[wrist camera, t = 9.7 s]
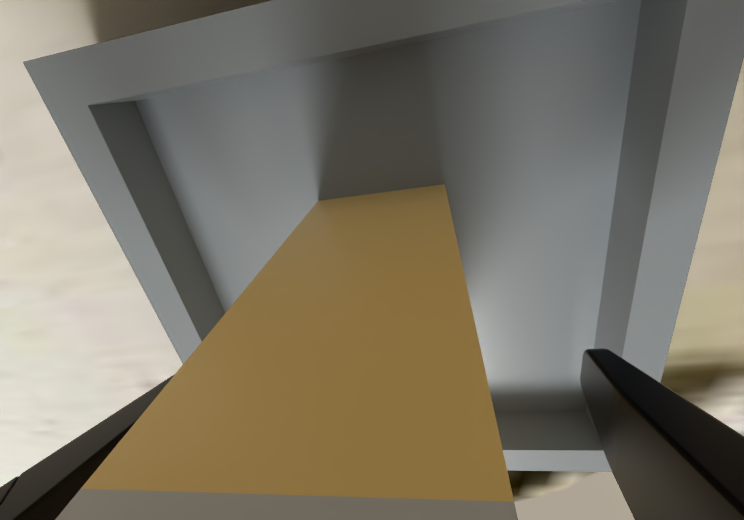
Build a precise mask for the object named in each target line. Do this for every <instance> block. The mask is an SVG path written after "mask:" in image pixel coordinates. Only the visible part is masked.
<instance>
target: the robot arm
mask: <svg viewBox="0 0 744 520" xmlns="http://www.w3.org/2000/svg"><path fill="white" fill-rule="evenodd" d="M174 375H175V374H174ZM174 375H173V376H174ZM173 376H171V377H170V378H168V379H167V380H165V381H164V382H162V383H161V384H159V385H158V386H156V387H154V388H153V389H151V390H150V391H148V392H147V393H145V394H144V395H142V396H141V397H139V398H137V399H136V400H134V401H133V402H131V403H130V404H128V405H127V406H125V407H124V408H122V409H121V410H119V411H117V412H116V413H114V414H113V415H111V416H110V417H108V418H107V419H105V420H104V421H102V422H100V423H99V424H97V425H96V426H94V427H93V428H91V429H90V430H88V431H87V432H85V433H83V434H82V435H80V436H79V437H77V438H76V439H74V440H73V441H71V442H70V443H68V444H67V445H65V446H63V447H62V448H60V449H59V450H57V451H56V452H54V453H53V454H51V455H50V456H48V457H46V458H45V459H43V460H42V461H40V462H39V463H37V464H36V465H34V466H33V467H31V468H30V469H28V470H26V471H25V472H23V473H22V474H21V475H20V477H15V478H14V479H12V480H11V481H9V482H8V483H6V484H5V485H3V486H2V487H0V520H55V519H56V518H57V517H58V516H59V514H60V513H61V512H62V511H63V510H64V508H65V507H66V506H67V505H68V504H69V502H70V501H71V500H72V499H73V497H74V496H75V495H76V494H77V493H78V491H79V490H80V489H81V488H82V487H83V485H84V484H85V483H86V482H87V480H88V479H89V478H90V477H91V476H92V474H93V473H94V472H95V471H96V470H97V468H98V467H99V466H100V465H101V464H102V462H103V461H104V460H105V459H106V457H107V456H108V455H109V454H110V453H111V451H112V450H113V449H114V448H115V447H116V445H117V444H118V443H119V442H120V440H121V439H122V438H123V437H124V436H125V434H126V433H127V432H128V431H129V430H130V428H131V427H132V426H133V425H134V424H135V422H136V421H137V420H138V419H139V417H140V416H141V415H142V414H143V413H144V411H145V410H146V409H147V408H148V407H149V405H150V404H151V403H152V402H153V400H154V399H155V398H156V397H157V396H158V394H159V393H160V392H161V391H162V390H163V388H164V387H165V386H166V385H167V383H168V382H169V381H170V380H171V379H172V377H173ZM580 383H581V388H582V391H583V394H584V397H585V400H586V402H587V405H588V408H589V411H590V414H591V417H592V420H593V422H594V425H595V428H596V431H597V434H598V437H599V439H600V442H601V445H602V448H603V451H604V453H605V456H606V459H607V461H608V463H609V466H610V468H611V470H612V472H613V475H614V477H615V479H616V481H617V483H618V485H619V487H620V489H621V491H622V493H623V496H624V498H625V500H626V502H627V504H628V506H629V508H630V510H631V512H632V514H633V517H634V519H635V520H744V436H742V435H741V434H739V433H738V432H736V431H735V430H733V429H732V428H730V427H728V426H727V425H725V424H724V423H722V422H721V421H719V420H718V419H716V418H714V417H713V416H711V415H710V414H708V413H707V412H705V411H704V410H702V409H700V408H699V407H697V406H696V405H694V404H693V403H691V402H690V401H688V400H686V399H685V398H683V397H682V396H680V395H679V394H677V393H676V392H674V391H672V390H671V389H669V388H668V387H666V386H665V385H663V384H662V383H660V382H658V381H657V380H655V379H654V378H652V377H651V376H649V375H648V374H646V373H644V372H643V371H641V370H640V369H638V368H637V367H635V366H634V365H632V364H630V363H629V362H627V361H626V360H624V359H623V358H621V357H620V356H618V355H616V354H615V353H613V352H612V351H610V350H608V349H605V348H597V349H586V350H585V351H584V353H583V357H582V366H581V374H580Z"/></svg>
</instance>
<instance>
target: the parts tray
mask: <svg viewBox="0 0 744 520" xmlns="http://www.w3.org/2000/svg"><path fill="white" fill-rule="evenodd" d="M743 58H744V0H271V1H267V2H263V3H259V4H254V5H250V6H246V7H242V8H238V9H234V10H230V11H226V12H222V13H218V14H214V15H210V16H206V17H202V18H198V19H194V20H190V21H186V22H182V23H178V24H174V25H170V26H166V27H162V28H158V29H154V30H150V31H146V32H142V33H138V34H134V35H130V36H126V37H122V38H118V39H113V40H109V41H105V42H101V43H97V44H93V45H89V46H85V47H81V48H77V49H73V50H69V51H65V52H61V53H57V54H53V55H49V56H45V57H41V58H37V59H33V60H29V61H25V62H23V63H24V65H25V67H26V69H27V71H28V73H29V75H30V76H31V78H32V80H33V82H34V84H35V86H36V88H37V90H38V92H39V93H40V95H41V97H42V99H43V101H44V103H45V105H46V107H47V109H48V110H49V112H50V114H51V116H52V118H53V120H54V122H55V124H56V126H57V127H58V129H59V131H60V133H61V135H62V137H63V139H64V141H65V142H66V144H67V146H68V148H69V150H70V152H71V154H72V156H73V158H74V159H75V161H76V163H77V165H78V167H79V169H80V171H81V173H82V175H83V176H84V178H85V180H86V182H87V184H88V186H89V188H90V190H91V192H92V193H93V195H94V197H95V199H96V201H97V203H98V205H99V207H100V209H101V210H102V212H103V214H104V216H105V218H106V220H107V222H108V224H109V226H110V227H111V229H112V231H113V233H114V235H115V237H116V239H117V241H118V242H119V244H120V246H121V248H122V250H123V252H124V254H125V256H126V258H127V259H128V261H129V263H130V265H131V267H132V269H133V271H134V273H135V275H136V276H137V278H138V280H139V282H140V284H141V286H142V288H143V290H144V292H145V293H146V295H147V297H148V299H149V301H150V303H151V305H152V307H153V309H154V310H155V312H156V314H157V316H158V318H159V320H160V322H161V324H162V326H163V327H164V329H165V331H166V333H167V335H168V337H169V339H170V341H171V342H172V344H173V346H174V348H175V350H176V352H177V354H178V356H179V358H180V359H181V361H182V363H183V364H184V363H185V362H186V360H187V359H188V358H189V357H190V356H191V354H192V353H193V352H194V351H195V350H196V348H197V347H198V346H199V345H200V343H201V342H202V341H203V340H204V339H205V337H206V336H207V335H208V334H209V333H210V331H211V330H212V329H213V328H214V327H215V325H216V324H217V323H218V322H219V320H220V319H221V318H222V317H223V316H224V314H225V313H226V312H227V311H228V310H229V308H230V307H231V306H232V305H233V303H234V302H235V301H236V300H237V299H238V297H239V296H240V295H241V294H242V293H243V291H244V290H245V289H246V288H247V287H248V285H249V284H250V283H251V282H252V280H253V279H254V278H255V277H256V276H257V274H258V273H259V272H260V271H261V270H262V268H263V267H264V266H265V265H266V263H267V262H268V261H269V260H270V259H271V257H272V256H273V255H274V254H275V253H276V251H277V250H278V249H279V248H280V246H281V245H282V244H283V243H284V242H285V240H286V239H287V238H288V237H289V236H290V234H291V233H292V232H293V231H294V230H295V228H296V227H297V226H298V225H299V223H300V222H301V221H302V220H303V219H304V217H305V216H306V215H307V214H308V213H309V211H310V210H311V209H312V208H313V206H314V205H315V204H316V203H317V202H318V201H321V200H329V199H336V198H344V197H351V196H359V195H366V194H374V193H382V192H389V191H397V190H404V189H412V188H419V187H427V186H435V185H442V184H445V188H446V192H447V197H448V202H449V206H450V211H451V215H452V220H453V224H454V229H455V234H456V238H457V243H458V247H459V252H460V257H461V261H462V266H463V270H464V275H465V280H466V284H467V289H468V293H469V298H470V302H471V307H472V312H473V316H474V321H475V325H476V330H477V335H478V339H479V344H480V348H481V353H482V358H483V362H484V367H485V371H486V376H487V380H488V385H489V390H490V394H491V399H492V403H493V408H494V413H495V417H496V422H497V426H498V431H499V436H500V440H501V445H502V449H503V454H504V458H505V463H506V468H507V470H522V471H589V472H612V470H611V468H610V466H609V463H608V461H607V459H606V456H605V453H604V451H603V448H602V445H601V442H600V439H599V437H598V434H597V431H596V428H595V425H594V422H593V420H592V417H591V414H590V411H589V408H588V405H587V402H586V400H585V397H584V394H583V391H582V388H581V383H580V374H581V366H582V357H583V353H584V351H585V350H586V349H597V348H605V349H608V350H610V351H612V352H613V353H615V354H616V355H618V356H620V357H621V358H623V359H624V360H626V361H627V362H629V363H630V364H632V365H634V366H635V367H637V368H638V369H640V370H641V371H643V372H644V373H646V374H648V375H649V376H651V377H652V378H654V379H655V380H657V381H658V382H661V378H662V374H663V370H664V366H665V362H666V358H667V354H668V351H669V347H670V343H671V339H672V335H673V331H674V327H675V323H676V319H677V315H678V311H679V308H680V304H681V300H682V296H683V292H684V288H685V284H686V280H687V276H688V272H689V269H690V265H691V261H692V257H693V253H694V249H695V245H696V241H697V237H698V233H699V229H700V226H701V222H702V218H703V214H704V210H705V206H706V202H707V198H708V194H709V190H710V187H711V183H712V179H713V175H714V171H715V167H716V163H717V159H718V155H719V151H720V147H721V144H722V140H723V136H724V132H725V128H726V124H727V120H728V116H729V112H730V108H731V105H732V101H733V97H734V93H735V89H736V85H737V81H738V77H739V73H740V69H741V65H742V62H743Z"/></svg>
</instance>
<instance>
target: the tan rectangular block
mask: <svg viewBox="0 0 744 520" xmlns="http://www.w3.org/2000/svg"><path fill="white" fill-rule="evenodd" d="M55 520H518V518H517V514H516V509H515V504H514V500H513V495H512V491H511V486H510V481H509V477H508V472H507V468H506V463H505V458H504V454H503V449H502V445H501V440H500V436H499V431H498V426H497V422H496V417H495V413H494V408H493V403H492V399H491V394H490V390H489V385H488V380H487V376H486V371H485V367H484V362H483V358H482V353H481V348H480V344H479V339H478V335H477V330H476V325H475V321H474V316H473V312H472V307H471V302H470V298H469V293H468V289H467V284H466V280H465V275H464V270H463V266H462V261H461V257H460V252H459V247H458V243H457V238H456V234H455V229H454V224H453V220H452V215H451V211H450V206H449V202H448V197H447V192H446V188H445V184H442V185H435V186H427V187H419V188H412V189H404V190H397V191H389V192H382V193H374V194H366V195H359V196H351V197H344V198H336V199H329V200H321V201H318V202H317V203H316V204H315V205H314V206H313V208H312V209H311V210H310V211H309V213H308V214H307V215H306V216H305V217H304V219H303V220H302V221H301V222H300V223H299V225H298V226H297V227H296V228H295V230H294V231H293V232H292V233H291V234H290V236H289V237H288V238H287V239H286V240H285V242H284V243H283V244H282V245H281V246H280V248H279V249H278V250H277V251H276V253H275V254H274V255H273V256H272V257H271V259H270V260H269V261H268V262H267V263H266V265H265V266H264V267H263V268H262V270H261V271H260V272H259V273H258V274H257V276H256V277H255V278H254V279H253V280H252V282H251V283H250V284H249V285H248V287H247V288H246V289H245V290H244V291H243V293H242V294H241V295H240V296H239V297H238V299H237V300H236V301H235V302H234V303H233V305H232V306H231V307H230V308H229V310H228V311H227V312H226V313H225V314H224V316H223V317H222V318H221V319H220V320H219V322H218V323H217V324H216V325H215V327H214V328H213V329H212V330H211V331H210V333H209V334H208V335H207V336H206V337H205V339H204V340H203V341H202V342H201V343H200V345H199V346H198V347H197V348H196V350H195V351H194V352H193V353H192V354H191V356H190V357H189V358H188V359H187V360H186V362H185V363H184V364H183V365H182V367H181V368H180V369H179V370H178V371H177V373H176V374H175V375H174V376H173V377H172V379H171V380H170V381H169V382H168V383H167V385H166V386H165V387H164V388H163V390H162V391H161V392H160V393H159V394H158V396H157V397H156V398H155V399H154V400H153V402H152V403H151V404H150V405H149V407H148V408H147V409H146V410H145V411H144V413H143V414H142V415H141V416H140V417H139V419H138V420H137V421H136V422H135V424H134V425H133V426H132V427H131V428H130V430H129V431H128V432H127V433H126V434H125V436H124V437H123V438H122V439H121V440H120V442H119V443H118V444H117V445H116V447H115V448H114V449H113V450H112V451H111V453H110V454H109V455H108V456H107V457H106V459H105V460H104V461H103V462H102V464H101V465H100V466H99V467H98V468H97V470H96V471H95V472H94V473H93V474H92V476H91V477H90V478H89V479H88V480H87V482H86V483H85V484H84V485H83V487H82V488H81V489H80V490H79V491H78V493H77V494H76V495H75V496H74V497H73V499H72V500H71V501H70V502H69V504H68V505H67V506H66V507H65V508H64V510H63V511H62V512H61V513H60V514H59V516H58V517H57V518H56V519H55Z"/></svg>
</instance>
